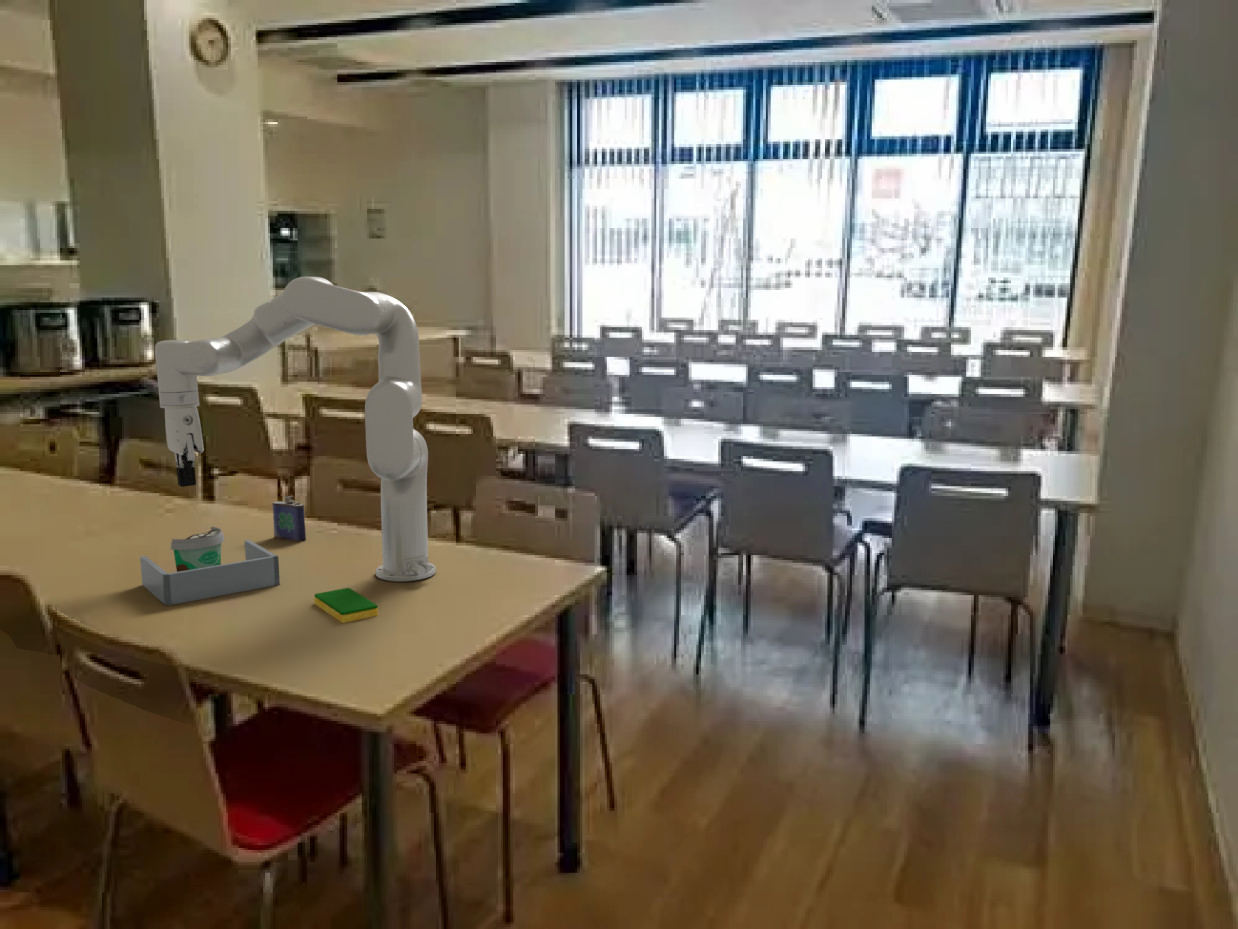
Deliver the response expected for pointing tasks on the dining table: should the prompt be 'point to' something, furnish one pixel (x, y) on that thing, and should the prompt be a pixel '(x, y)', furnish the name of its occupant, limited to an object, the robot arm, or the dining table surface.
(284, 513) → the flask
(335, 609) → the dish sponge
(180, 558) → the food container
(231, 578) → the grey u-shaped frame
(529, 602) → the dining table surface
